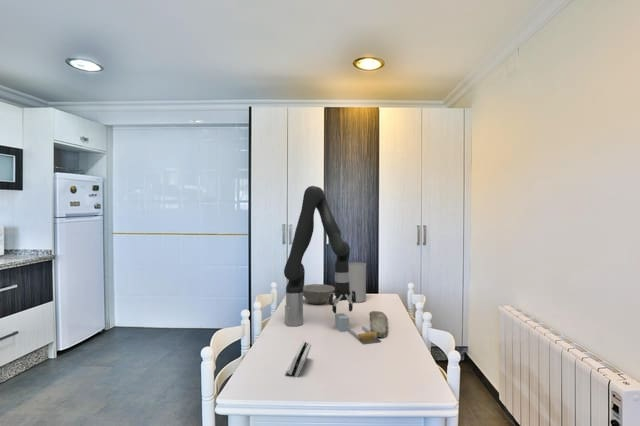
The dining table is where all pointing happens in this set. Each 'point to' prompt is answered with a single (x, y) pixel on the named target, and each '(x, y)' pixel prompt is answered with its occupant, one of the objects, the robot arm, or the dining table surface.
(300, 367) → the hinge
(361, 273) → the cylinder vase
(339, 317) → the module
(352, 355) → the dining table surface
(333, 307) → the robot arm
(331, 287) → the ceramic bowl
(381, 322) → the long grey stone
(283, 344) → the dining table surface
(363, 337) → the rail mount
